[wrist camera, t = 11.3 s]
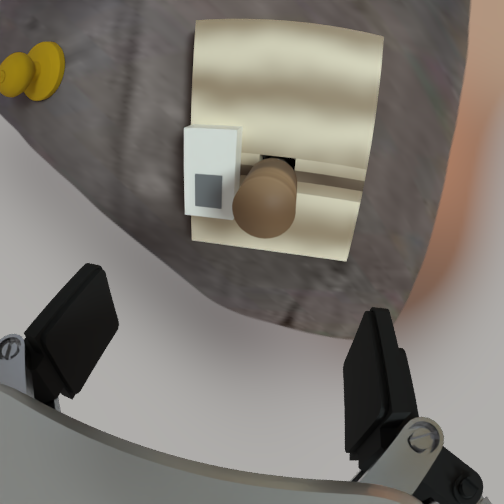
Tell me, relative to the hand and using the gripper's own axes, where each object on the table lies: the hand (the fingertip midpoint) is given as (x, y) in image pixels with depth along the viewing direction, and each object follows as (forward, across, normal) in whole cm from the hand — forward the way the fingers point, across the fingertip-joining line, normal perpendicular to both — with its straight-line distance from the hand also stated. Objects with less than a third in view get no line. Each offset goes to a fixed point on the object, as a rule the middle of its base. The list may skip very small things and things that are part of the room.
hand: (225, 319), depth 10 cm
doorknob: (+23, +30, -11) cm, 39 cm away
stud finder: (+19, +5, +1) cm, 20 cm away
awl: (+22, 0, +1) cm, 22 cm away
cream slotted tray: (+22, 0, -2) cm, 22 cm away
